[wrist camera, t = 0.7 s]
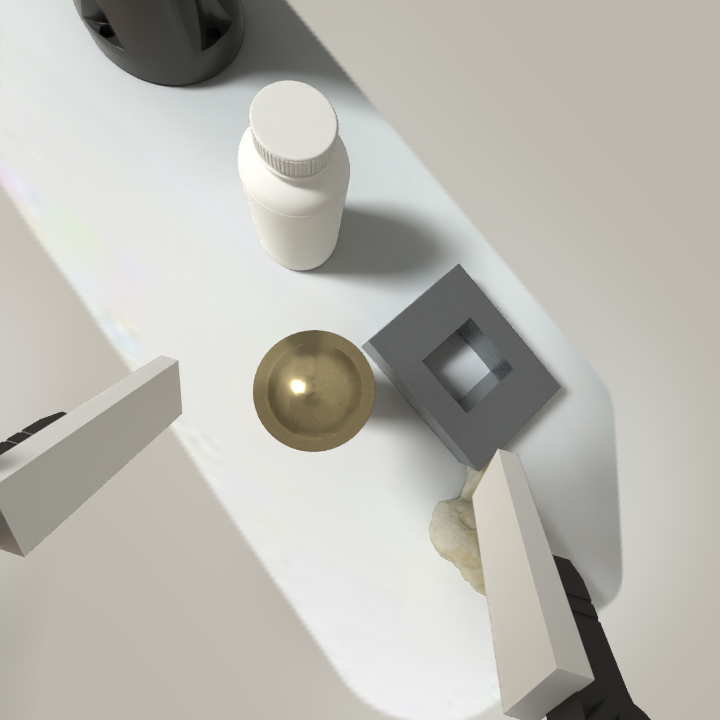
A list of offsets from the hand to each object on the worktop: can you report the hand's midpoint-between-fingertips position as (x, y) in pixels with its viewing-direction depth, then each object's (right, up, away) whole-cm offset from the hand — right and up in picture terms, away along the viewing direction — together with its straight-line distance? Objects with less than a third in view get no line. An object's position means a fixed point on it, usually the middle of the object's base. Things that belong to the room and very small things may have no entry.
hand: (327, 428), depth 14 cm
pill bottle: (-5, +16, +21) cm, 27 cm away
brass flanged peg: (-3, 0, +20) cm, 20 cm away
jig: (+11, +2, +22) cm, 25 cm away
